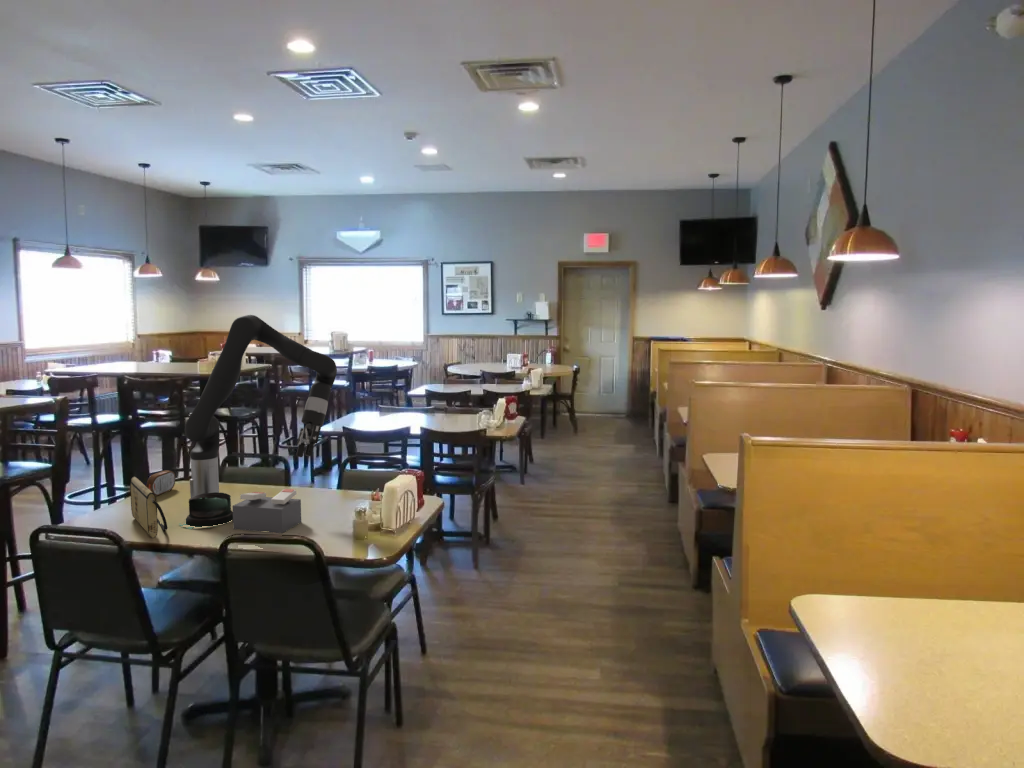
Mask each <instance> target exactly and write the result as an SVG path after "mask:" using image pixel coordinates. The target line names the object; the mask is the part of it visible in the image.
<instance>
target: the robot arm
mask: <svg viewBox="0 0 1024 768" xmlns="http://www.w3.org/2000/svg"><path fill="white" fill-rule="evenodd" d="M252 341H257V342H260V343H263V344H265V345H268V346H270V347H271V348H273V349H274V350H275V351H277V352H278V353H279V354H280V355H281V356H282V357H284V358H285V359H287V360H288V361H290V362H291V363H292V362H293V363H294V364H296V365H298V366H300V367H302V368H308V369H310V370H313V372H315V373H316V376H315V378H314V382H313V383H312V385H311V387H310V390H309V393H308V398H307V400H306V402H305V406H304V410H303V413H302V417H301V420H300V421H301V423H302V424H303V425H305V426H304V428H303V427H302V428H300V431H299V434H298V437H297V441H296V445H297V450H296V455H295V456H296V457H298V458H303V457H304V455H305V456H307V457H311V456H312V454H313V450H314V446H315V445H316V444H318V442H319V438H320V433H321V429H322V427H323V426H324V423H325V422H324V421H325V418H326V415H327V410H328V406H329V399H330V396H331V391H332V388H333V385H334V383H335V380H336V377H337V373H338V370H337V369H338V368H337V363H336V361H335V360H334V359H333V358H331V357H330V356H328V355H326V354H323V353H320V352H318V351H314V350H312V349H311V348H309V347H307V346H305V345H303V344H301V343H300V342H297V341H295V340H293V339H291V338H290V337H288V336H287V335H284V334H283V333H281V332H280V331H278V330H276V329H275V328H273V327H272V326H271V325H269V324H268V323H267V322H265V321H264V320H263V319H262V318H260V317H258V316H257V315H253V314H246V315H241V316H238V317H236V318H235V319H234V320H233V322H232V323H231V326H230V329H229V332H228V335H227V338H226V341H225V343H224V346H223V349H222V350H221V353H220V354H219V356H218V358H217V360H216V363H215V365H214V367H213V369H212V370H211V373H210V374H209V377H208V380H207V382H206V385H205V387H204V389H203V391H202V393H201V395H200V397H199V400H198V402H197V404H196V405H195V407H194V408H193V411H191V413H190V415H189V417H188V418H187V421H185V422H186V423H185V425H184V434H185V437H186V438H187V439H188V440H189V441H190V442H191V441H192V442H196V443H195V445H194V447H193V448H192V449H191V451H190V453H189V455H190V469H191V470H190V471H191V472H190V473H191V475H190V476H191V478H190V479H189V492H190V494H189V495H190V498H192V497H194V496H196V495H199V494H203V493H214V492H217V493H220V481H219V480H220V479H219V477H220V476H219V460H218V459H219V458H218V455H219V454H218V452H219V449H220V437H221V436H220V423H219V421H218V419H217V418H216V416H214V415H215V413H216V412H217V410H218V409H219V408H220V407H221V405H223V403H225V401H226V400H227V399H228V398H229V397H230V395H231V394H232V392H234V389H235V387H236V385H237V383H238V381H239V378H240V375H241V372H242V371H241V370H242V362H243V361H242V360H243V356H244V355H245V353H246V350H247V349H248V347H249V345H250V343H251V342H252Z"/></svg>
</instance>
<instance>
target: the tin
mask: <svg viewBox="0 0 1024 768" xmlns="http://www.w3.org/2000/svg"><path fill="white" fill-rule="evenodd" d="M175 484H176V474H175V472H174V471H172V470H168V469H167V470H165V469H164V470H162V471H159V472H156V473H153V474H151V475H150V476H149V477H148V479H147V482H146V485H145V486H146V487H147V488H148V489H149V490H150V491H151V492H153V493H154V494H155V497H157V496H160V495H162V494H165V493H168V492H170V491H171V490H173V488H174V487H175ZM169 490H170V491H169ZM167 491H168V492H167Z"/></svg>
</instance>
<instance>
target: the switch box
mask: <svg viewBox="0 0 1024 768" xmlns="http://www.w3.org/2000/svg"><path fill="white" fill-rule="evenodd" d="M273 497H274V496H273ZM273 497H272V496H266V498H262V499H256V500H245V499H243V500H242V501H239V502H237V503H236V504H233V505H231V509H232V512H233V520H232V525H233V526H232V527H233V530H237V529H240V531H248V532H261V531H269V532H268V533H273V532H276V534H277V533H278V534H284V533H285V532H287V531H289V530H290V528H291V529H292V528H294V527H295V525H296V526H298V525H299V524H301V523H302V503H301V500H302V499H301V498H300V499H299V498H291V499H290V500H289V501H288V502H286V503H285V504H272V500H271V499H272V498H273ZM300 522H301V523H300ZM298 523H299V524H298ZM293 526H294V527H293ZM283 532H284V533H283Z"/></svg>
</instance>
